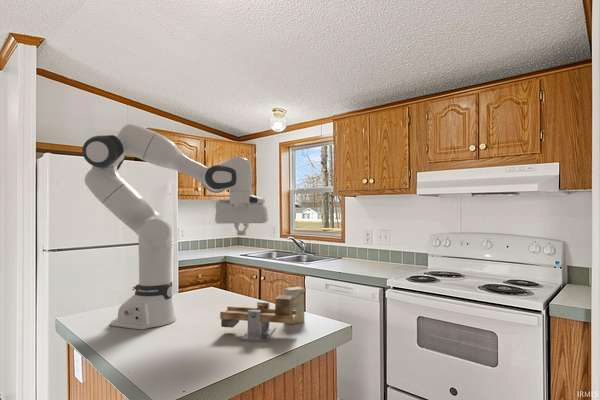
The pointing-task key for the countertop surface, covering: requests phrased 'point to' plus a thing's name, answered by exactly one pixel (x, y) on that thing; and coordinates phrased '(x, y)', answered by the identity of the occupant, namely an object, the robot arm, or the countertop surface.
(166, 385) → the countertop surface
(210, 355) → the countertop surface
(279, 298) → the block
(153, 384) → the countertop surface
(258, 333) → the pivot stand
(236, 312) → the beam
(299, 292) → the skincare box
